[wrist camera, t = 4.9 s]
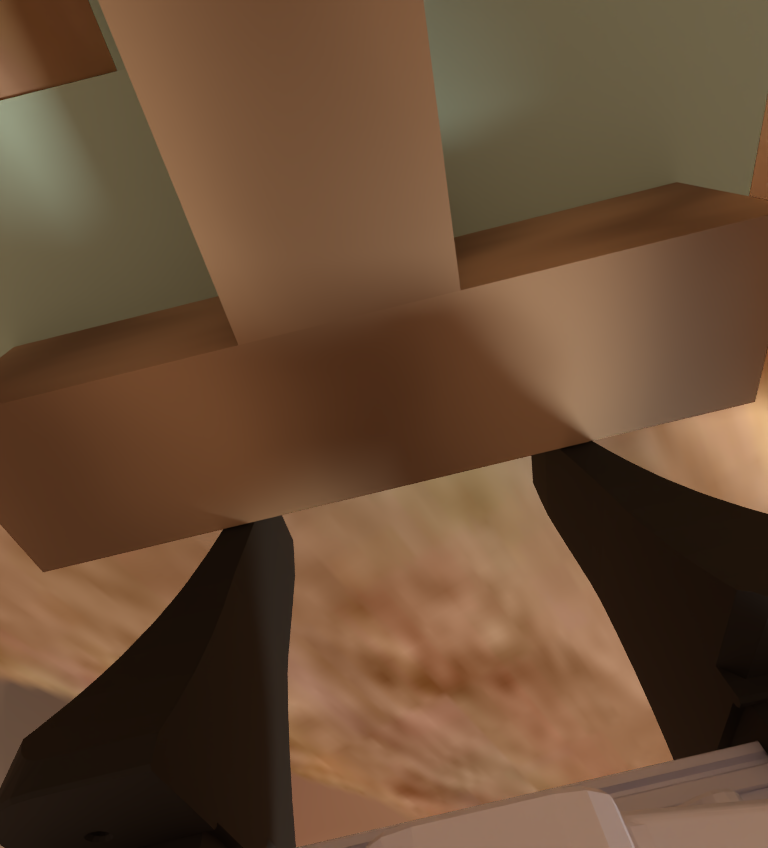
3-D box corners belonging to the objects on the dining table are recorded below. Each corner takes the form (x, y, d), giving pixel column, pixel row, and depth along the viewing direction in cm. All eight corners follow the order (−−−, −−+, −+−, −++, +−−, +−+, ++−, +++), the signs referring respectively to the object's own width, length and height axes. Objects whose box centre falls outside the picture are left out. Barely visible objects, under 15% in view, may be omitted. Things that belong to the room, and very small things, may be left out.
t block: (769, -706, 6) (1203, -1489, 3) (660, 339, 14) (754, 402, 11) (-468, -359, 6) (-1155, -769, 3) (101, 474, 14) (42, 572, 11)
